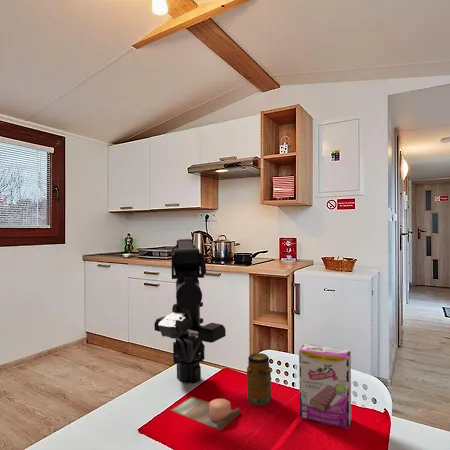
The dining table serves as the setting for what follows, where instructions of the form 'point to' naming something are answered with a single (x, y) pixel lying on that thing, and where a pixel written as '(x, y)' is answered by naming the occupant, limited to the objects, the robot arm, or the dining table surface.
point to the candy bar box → (325, 385)
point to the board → (202, 412)
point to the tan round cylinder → (219, 410)
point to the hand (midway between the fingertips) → (189, 362)
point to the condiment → (258, 379)
